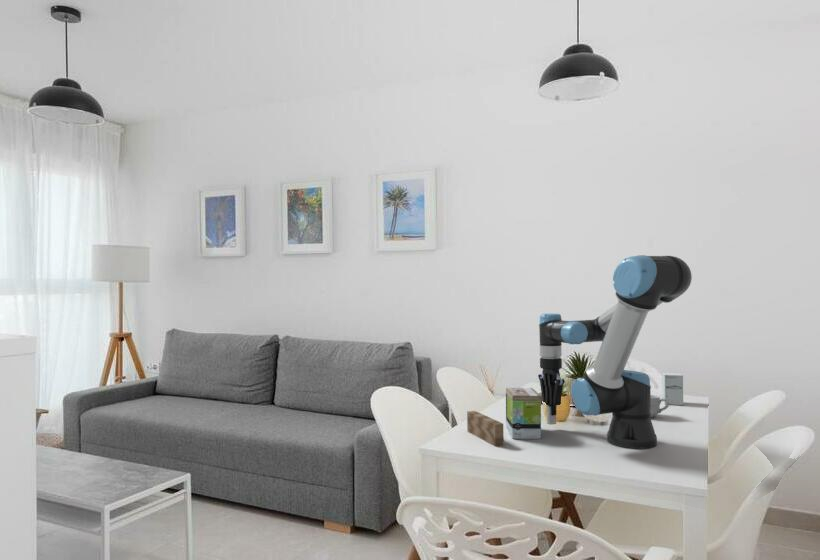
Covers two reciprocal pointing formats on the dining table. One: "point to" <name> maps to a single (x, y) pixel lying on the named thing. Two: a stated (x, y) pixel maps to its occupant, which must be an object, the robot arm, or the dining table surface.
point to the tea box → (523, 413)
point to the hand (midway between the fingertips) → (551, 423)
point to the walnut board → (485, 428)
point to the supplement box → (672, 388)
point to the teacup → (657, 405)
